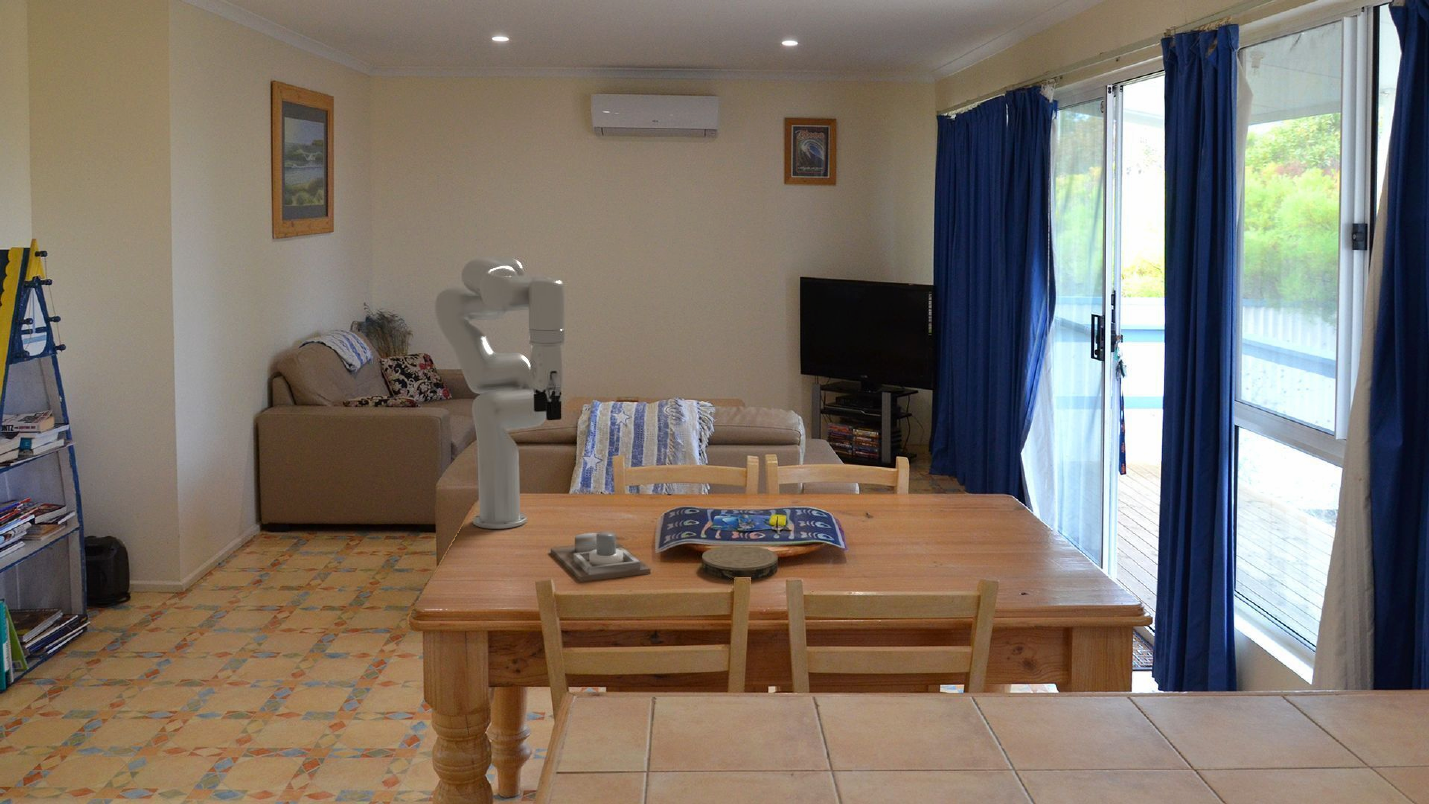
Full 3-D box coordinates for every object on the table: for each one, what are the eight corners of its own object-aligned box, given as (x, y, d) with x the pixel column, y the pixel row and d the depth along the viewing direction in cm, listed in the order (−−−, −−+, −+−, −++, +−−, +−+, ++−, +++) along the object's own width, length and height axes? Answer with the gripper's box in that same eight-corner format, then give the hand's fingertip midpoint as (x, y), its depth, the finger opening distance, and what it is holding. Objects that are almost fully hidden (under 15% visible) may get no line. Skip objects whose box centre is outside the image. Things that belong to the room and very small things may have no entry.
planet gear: (585, 561, 253) (584, 531, 252) (616, 558, 255) (616, 528, 254) (595, 571, 246) (595, 540, 245) (627, 567, 249) (627, 537, 248)
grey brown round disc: (754, 586, 242) (754, 572, 241) (687, 573, 250) (687, 559, 249) (790, 566, 255) (791, 552, 254) (726, 554, 263) (726, 541, 263)
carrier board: (550, 552, 263) (550, 534, 262) (615, 544, 268) (615, 527, 268) (580, 581, 243) (580, 562, 242) (650, 573, 249) (650, 554, 248)
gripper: (519, 332, 263) (520, 409, 267) (540, 343, 248) (541, 424, 251) (552, 331, 266) (553, 407, 270) (575, 341, 251) (576, 422, 254)
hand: (547, 415), depth 260 cm, fingers open, 9 cm apart
